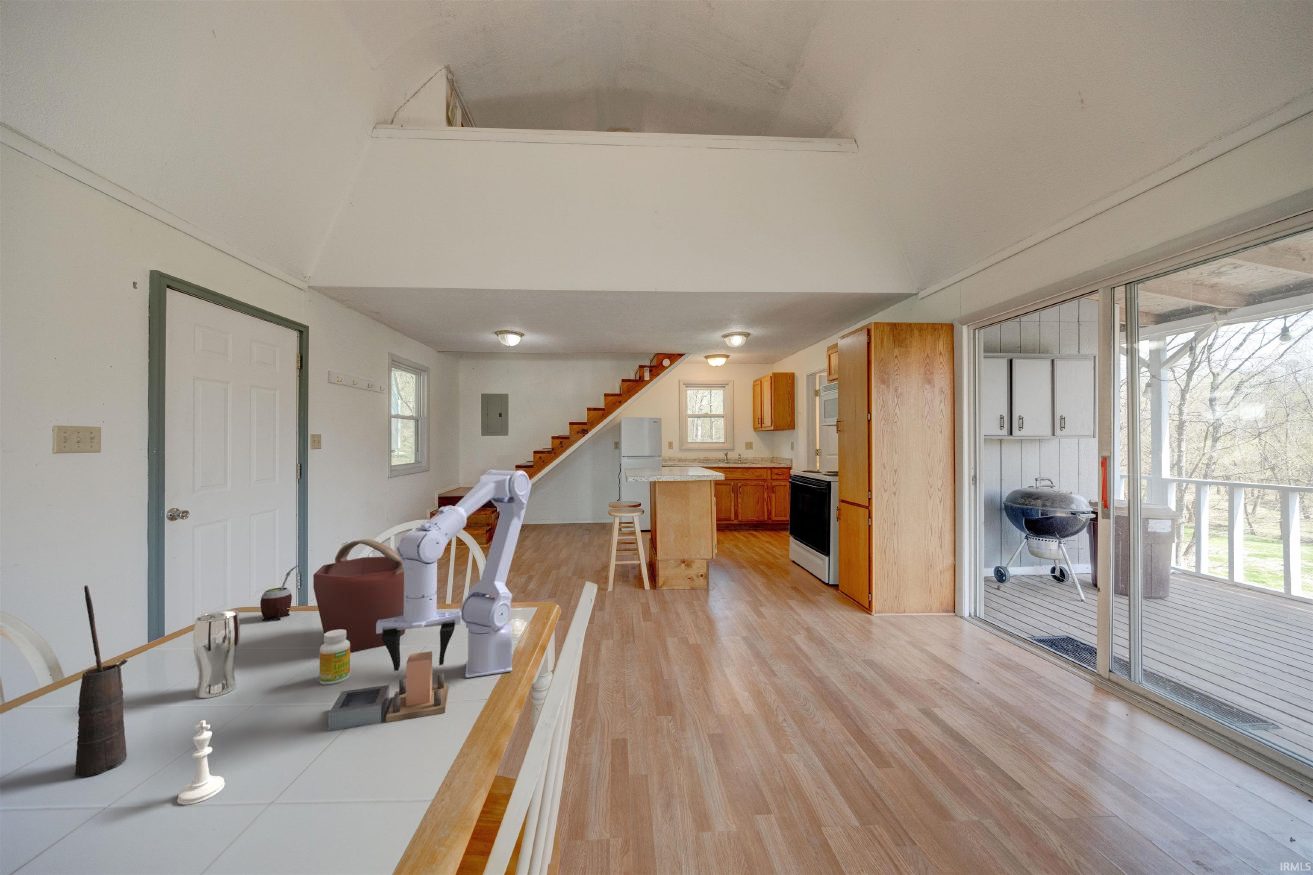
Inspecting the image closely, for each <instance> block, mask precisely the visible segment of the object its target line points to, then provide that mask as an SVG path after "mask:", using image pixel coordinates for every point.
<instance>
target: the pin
mask: <svg viewBox="0 0 1313 875" xmlns="http://www.w3.org/2000/svg"><path fill="white" fill-rule="evenodd" d="M405 672H406V675H405V676H406V678H405V679H406V706H410V705H417V704H423V703H430V699H431V695H432V686H433V651H432V650H431V651H423V652H413V653H409V655H408V658H407V660H406V671H405Z"/></svg>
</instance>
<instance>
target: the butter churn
mask: <svg viewBox="0 0 1313 875" xmlns="http://www.w3.org/2000/svg"><path fill="white" fill-rule="evenodd" d="M83 590H84V596H85V597H84V598H85V605H86V610H87V615H88V622H89V627H90V633H91V640H92V646H93V651H94V652H93V653H94V656H95V664H96V667H94V668H89V669H87V670H86V671H84V672H83V673H82V677H81V683H80V689H79V695H78V710H77V715H78V721H77V724H78V725H77V730H78V731H77V741H76V753H75V755H76V756H75V771H74V772H75V773H74V774H75V776H76V777H78V778H85V777H86V778H87V777H90V776H93V775H97V774H102V773H104V772H106V771H108V770H110V769H114V768H116V767H118V766H120V765H121V764H123V763H124V762H125V761H126V759H127V757H128V755H127V743H126V736H125V734H126V733H125V731H126V730H125V723H124V720H125V719H124V697H123V696H124V690H123V687H124V686H123V685H124V684H123V680H122V678H123V677H122V668H121V667H122V666H123V665H125V664H127V662H128V659H123V660H121V661H120V662H119V663H115V664H108V665H103V663H102V660H101V651H100V646H99V640H98V634H97V628H96V621H95V613H94V612H95V611H94V607H93V606H94V605H93V601H92V597H91V594H90V589H89V586H88V585H87V584H86V585H84V588H83Z"/></svg>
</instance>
